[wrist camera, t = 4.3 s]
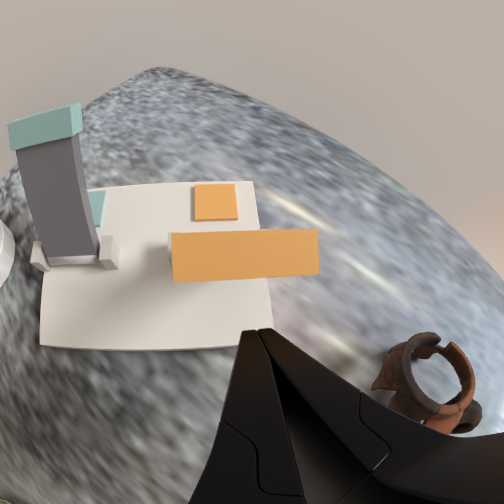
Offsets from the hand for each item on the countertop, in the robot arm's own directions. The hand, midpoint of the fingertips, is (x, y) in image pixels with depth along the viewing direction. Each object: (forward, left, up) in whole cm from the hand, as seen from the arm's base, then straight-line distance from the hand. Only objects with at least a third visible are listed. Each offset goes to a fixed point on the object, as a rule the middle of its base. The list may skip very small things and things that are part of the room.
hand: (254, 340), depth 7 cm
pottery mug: (+3, -16, -11) cm, 19 cm away
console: (+2, +8, -11) cm, 14 cm away
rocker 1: (-1, +12, -8) cm, 14 cm away
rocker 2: (+5, +4, -8) cm, 10 cm away
